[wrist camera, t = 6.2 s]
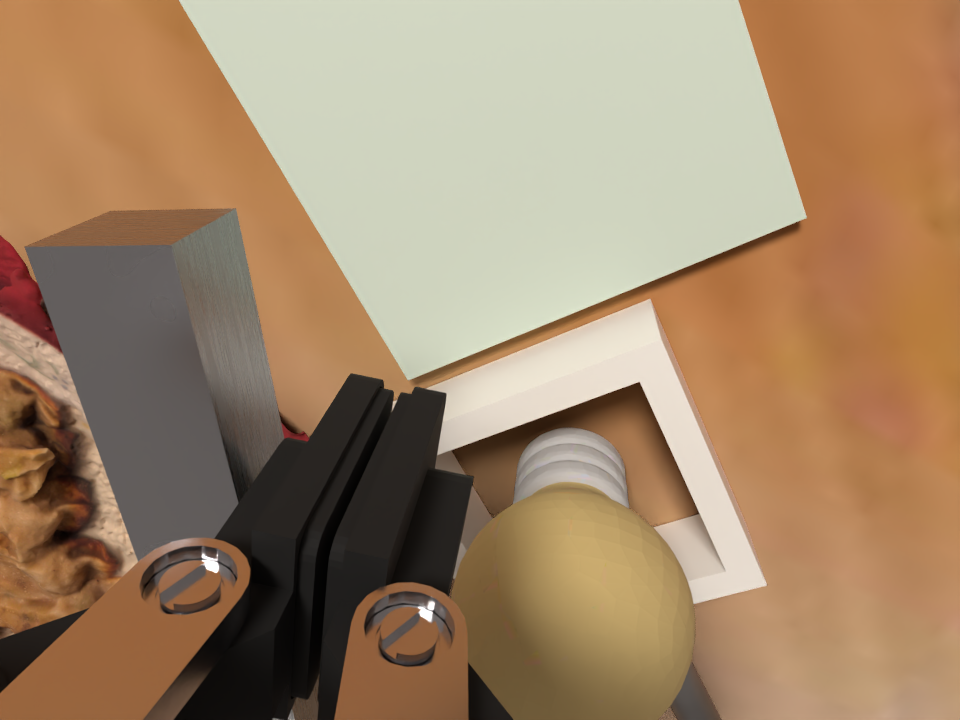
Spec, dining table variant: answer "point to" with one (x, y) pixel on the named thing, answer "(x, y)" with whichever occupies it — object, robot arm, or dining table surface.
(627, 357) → the white handled box
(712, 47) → the mat
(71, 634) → the robot arm
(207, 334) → the silver metal bar
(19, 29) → the dining table surface
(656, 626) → the light bulb
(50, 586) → the plate with food
